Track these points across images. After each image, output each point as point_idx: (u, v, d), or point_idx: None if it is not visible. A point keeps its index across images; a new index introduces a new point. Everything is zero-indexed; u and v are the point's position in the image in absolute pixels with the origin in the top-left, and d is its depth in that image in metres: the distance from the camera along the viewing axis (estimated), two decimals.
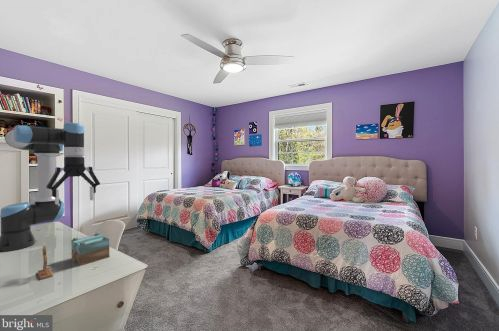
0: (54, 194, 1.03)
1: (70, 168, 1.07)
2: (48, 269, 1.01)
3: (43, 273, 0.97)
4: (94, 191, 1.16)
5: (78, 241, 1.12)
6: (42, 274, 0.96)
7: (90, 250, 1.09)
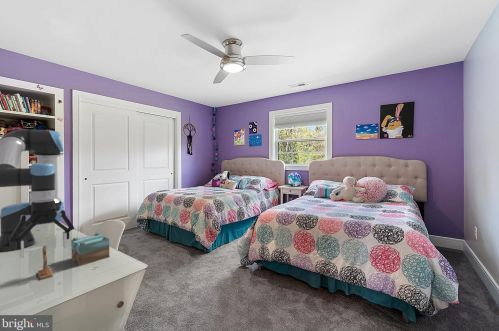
0: (18, 246, 0.91)
1: (38, 215, 0.95)
2: (48, 269, 1.01)
3: (43, 273, 0.97)
4: (67, 237, 1.03)
5: (78, 241, 1.12)
6: (42, 274, 0.96)
7: (90, 250, 1.09)
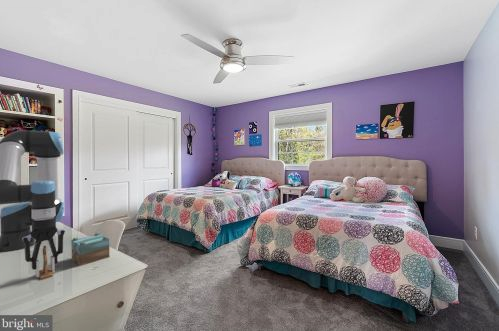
0: (34, 266, 0.95)
1: (37, 231, 0.95)
2: (48, 269, 1.01)
3: (43, 273, 0.97)
4: (55, 261, 1.00)
5: (78, 241, 1.12)
6: (42, 274, 0.96)
7: (90, 250, 1.09)
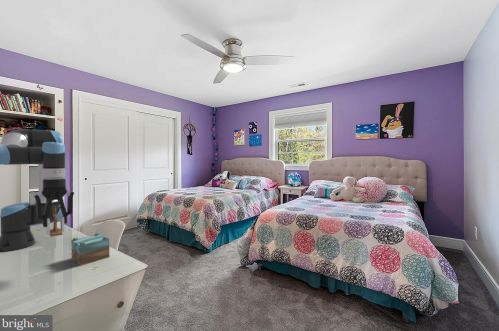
0: (45, 224, 0.98)
1: (48, 190, 0.98)
2: (58, 229, 1.04)
3: (53, 231, 1.00)
4: (65, 221, 1.03)
5: (78, 241, 1.12)
6: (53, 232, 0.99)
7: (90, 250, 1.09)
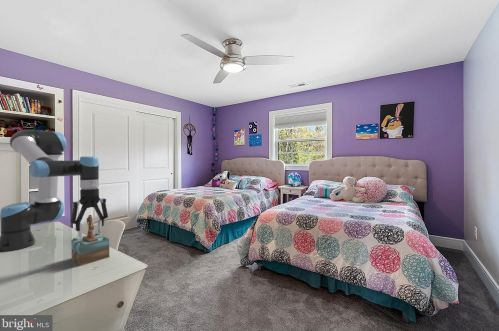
0: (78, 228, 1.10)
1: (85, 199, 1.12)
2: None
3: (89, 238, 1.14)
4: (102, 224, 1.18)
5: (78, 241, 1.12)
6: (89, 238, 1.13)
7: (90, 250, 1.09)
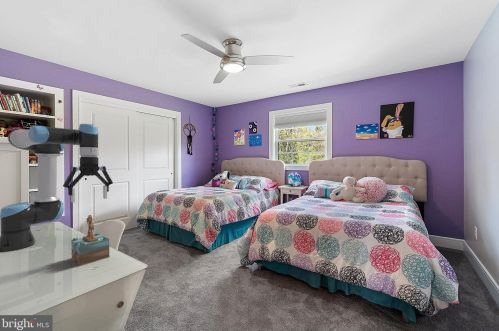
0: (70, 192, 1.07)
1: (85, 167, 1.12)
2: None
3: (89, 238, 1.14)
4: (107, 190, 1.20)
5: (78, 241, 1.12)
6: (89, 238, 1.13)
7: (90, 250, 1.09)
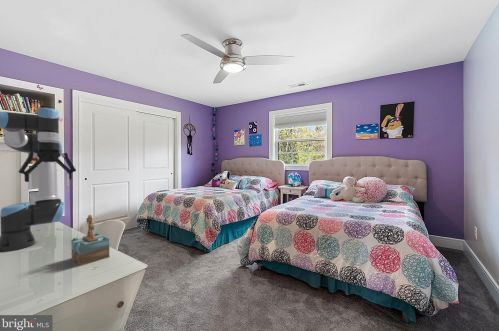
0: (27, 179, 1.03)
1: (44, 153, 1.07)
2: None
3: (89, 238, 1.14)
4: (70, 177, 1.15)
5: (78, 241, 1.12)
6: (89, 238, 1.13)
7: (90, 250, 1.09)
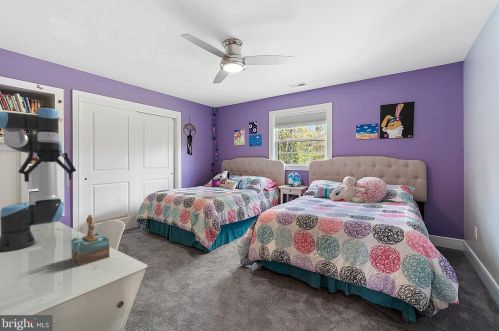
0: (26, 179, 1.03)
1: (44, 153, 1.07)
2: None
3: (89, 238, 1.14)
4: (69, 177, 1.15)
5: (78, 241, 1.12)
6: (89, 238, 1.13)
7: (90, 250, 1.09)
